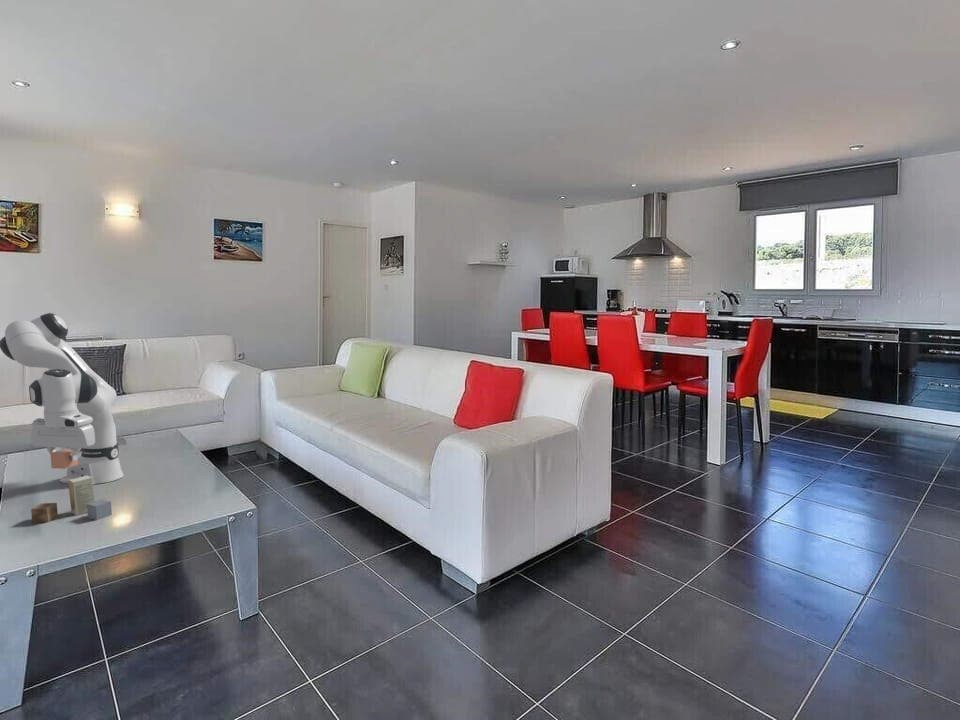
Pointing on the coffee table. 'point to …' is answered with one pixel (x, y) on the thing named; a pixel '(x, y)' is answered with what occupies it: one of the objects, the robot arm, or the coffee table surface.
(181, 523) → the coffee table surface
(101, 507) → the slate cube
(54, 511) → the walnut cube
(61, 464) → the terracotta cube
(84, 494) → the skincare box
